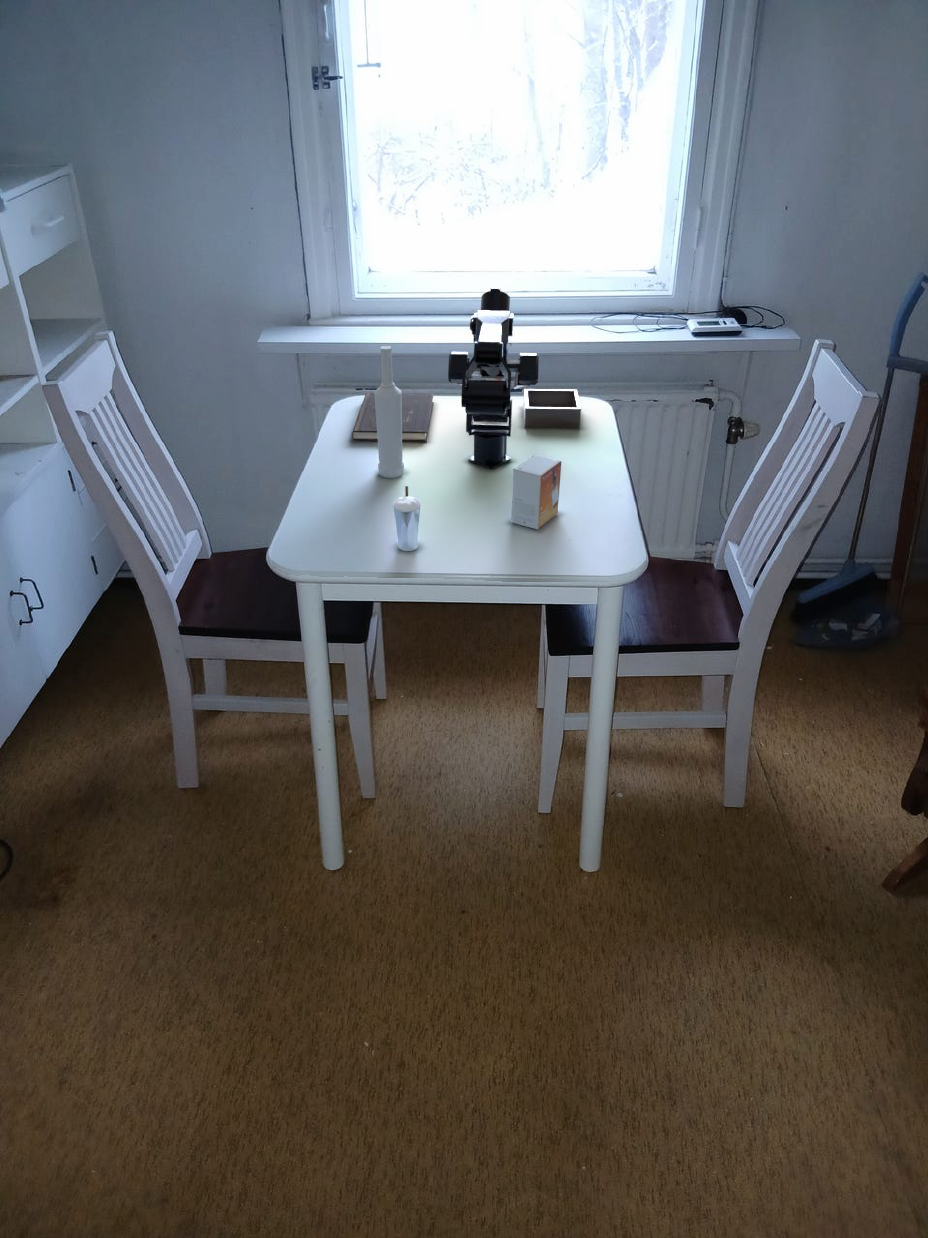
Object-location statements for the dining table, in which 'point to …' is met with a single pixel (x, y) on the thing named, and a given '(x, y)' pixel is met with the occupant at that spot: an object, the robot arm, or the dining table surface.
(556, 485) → the small box
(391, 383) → the bottle
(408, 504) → the milkshake
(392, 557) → the dining table surface
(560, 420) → the crate
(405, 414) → the hardcover book
